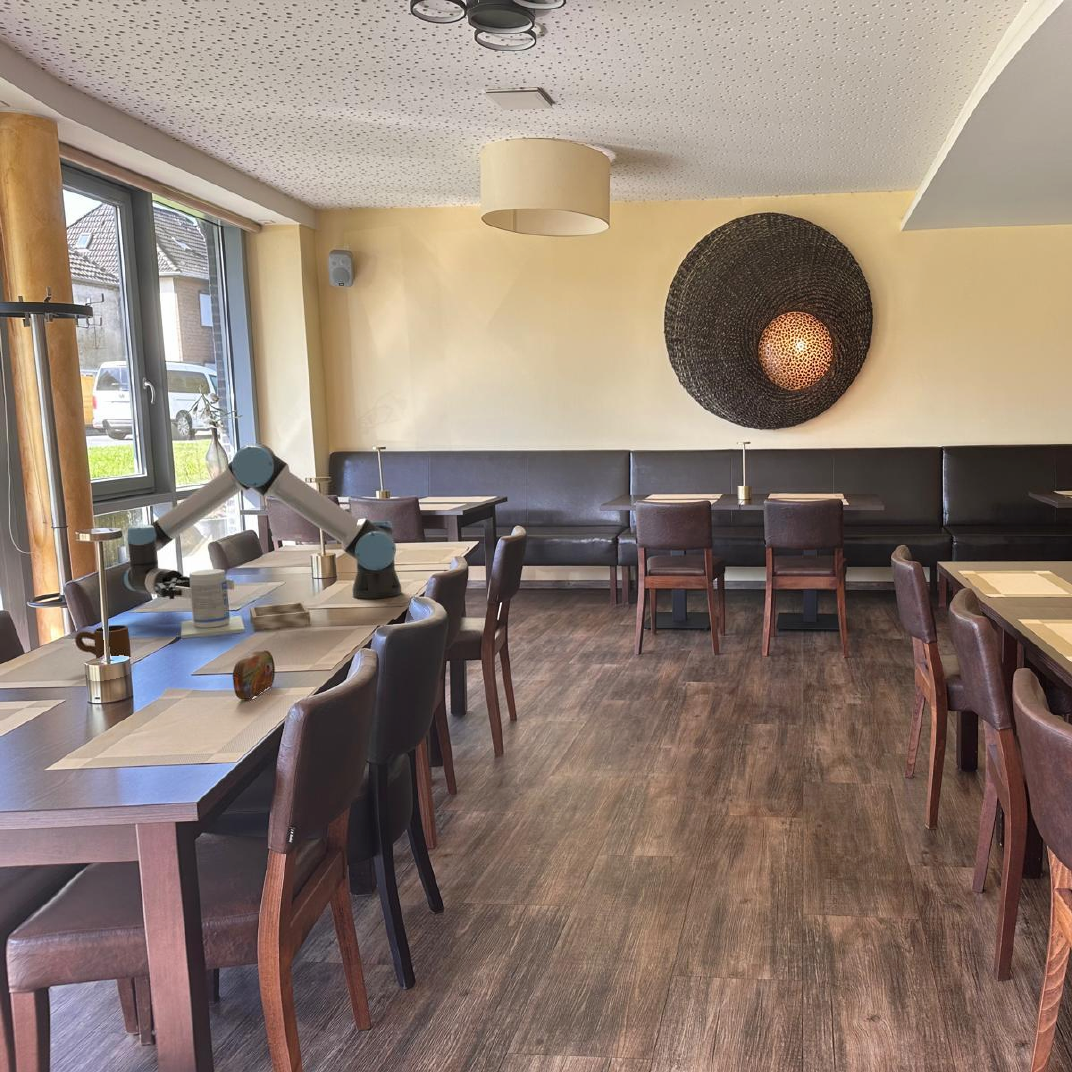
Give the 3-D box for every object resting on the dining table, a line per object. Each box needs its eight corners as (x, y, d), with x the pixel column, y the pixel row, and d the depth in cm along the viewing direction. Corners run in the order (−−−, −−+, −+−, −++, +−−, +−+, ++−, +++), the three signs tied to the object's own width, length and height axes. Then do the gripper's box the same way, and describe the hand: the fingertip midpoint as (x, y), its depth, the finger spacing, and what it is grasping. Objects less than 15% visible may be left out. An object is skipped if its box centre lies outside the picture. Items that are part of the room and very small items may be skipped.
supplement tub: (234, 625, 279) (230, 571, 277) (199, 630, 273) (194, 576, 271) (223, 619, 287) (219, 567, 285) (189, 624, 281) (184, 571, 279)
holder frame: (304, 614, 295) (303, 602, 295) (310, 624, 281) (309, 611, 281) (250, 619, 290) (249, 607, 290) (253, 630, 276) (252, 617, 276)
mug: (72, 674, 237) (69, 634, 236) (83, 665, 244) (79, 627, 243) (126, 670, 238) (123, 631, 237) (135, 662, 246) (132, 623, 244)
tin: (246, 704, 208) (243, 664, 207) (231, 704, 209) (228, 664, 207) (277, 684, 223) (274, 646, 222) (263, 683, 223) (261, 646, 222)
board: (241, 619, 291) (241, 615, 291) (244, 632, 274) (244, 628, 274) (181, 624, 286) (181, 621, 286) (181, 638, 269) (181, 634, 269)
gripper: (203, 588, 301) (250, 594, 288) (126, 603, 281) (173, 611, 268) (201, 562, 299) (248, 568, 287) (124, 576, 280) (170, 582, 267)
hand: (212, 588), depth 278 cm, fingers open, 13 cm apart
